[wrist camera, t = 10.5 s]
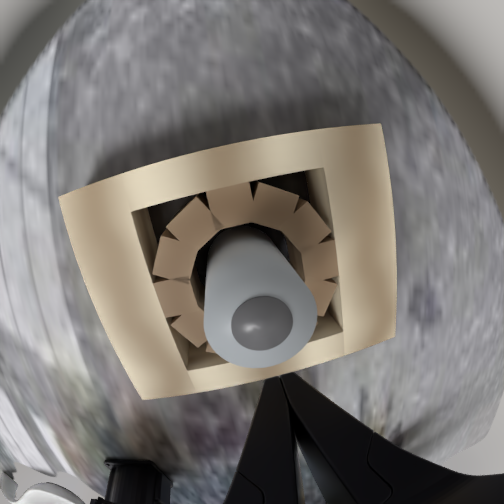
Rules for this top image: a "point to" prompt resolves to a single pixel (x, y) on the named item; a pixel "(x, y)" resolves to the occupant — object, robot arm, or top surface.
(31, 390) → the top surface
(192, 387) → the jig plate
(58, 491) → the spoon rest
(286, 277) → the cylinder
